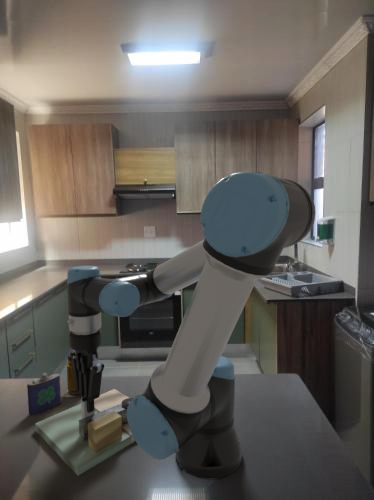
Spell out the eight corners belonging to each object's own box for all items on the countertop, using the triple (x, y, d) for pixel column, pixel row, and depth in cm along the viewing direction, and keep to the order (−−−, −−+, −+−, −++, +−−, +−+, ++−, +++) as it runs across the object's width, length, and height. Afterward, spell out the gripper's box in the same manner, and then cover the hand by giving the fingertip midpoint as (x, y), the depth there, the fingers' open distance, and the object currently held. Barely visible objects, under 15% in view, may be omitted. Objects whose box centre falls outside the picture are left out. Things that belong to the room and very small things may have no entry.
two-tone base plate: (162, 424, 87) (161, 397, 86) (77, 476, 70) (76, 442, 69) (114, 394, 102) (113, 371, 102) (35, 430, 85) (34, 403, 84)
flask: (58, 400, 99) (57, 366, 98) (63, 404, 97) (62, 369, 96) (27, 414, 92) (25, 377, 91) (31, 418, 90) (29, 381, 89)
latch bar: (132, 410, 90) (132, 396, 89) (140, 417, 86) (139, 402, 86) (78, 433, 80) (77, 417, 80) (84, 441, 77) (84, 425, 77)
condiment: (69, 386, 108) (68, 350, 107) (96, 384, 109) (95, 349, 108) (63, 397, 101) (62, 360, 100) (92, 396, 102) (90, 358, 101)
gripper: (58, 327, 82) (62, 417, 84) (83, 341, 73) (87, 441, 75) (86, 320, 87) (89, 405, 89) (113, 332, 78) (115, 426, 80)
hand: (88, 421), depth 82 cm, fingers closed
